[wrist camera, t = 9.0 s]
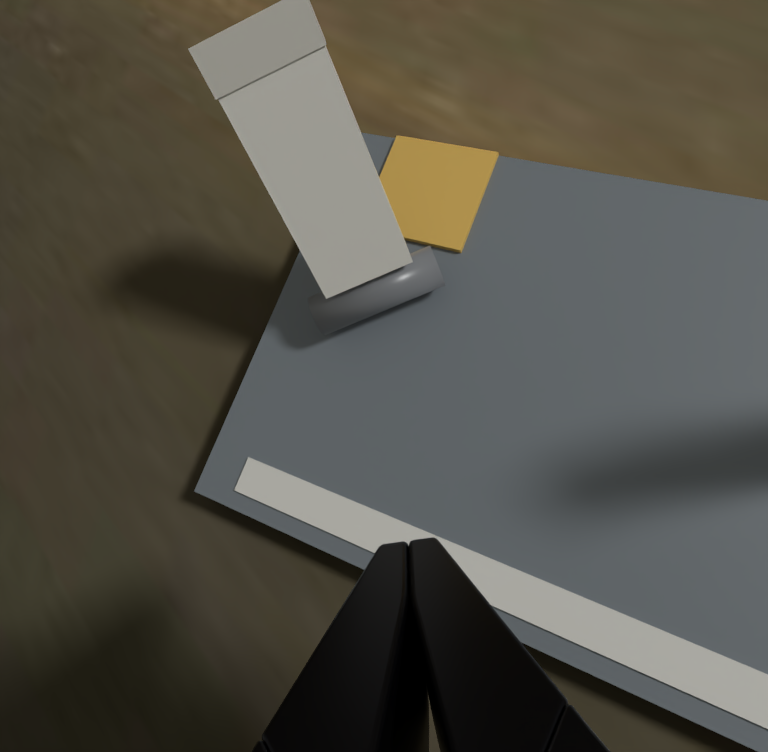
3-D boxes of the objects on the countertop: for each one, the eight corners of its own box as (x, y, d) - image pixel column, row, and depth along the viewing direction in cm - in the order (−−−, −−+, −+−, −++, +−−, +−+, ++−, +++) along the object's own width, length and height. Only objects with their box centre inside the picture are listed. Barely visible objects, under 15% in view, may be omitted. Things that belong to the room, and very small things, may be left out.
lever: (448, 293, 18) (329, -25, 13) (326, 343, 18) (164, 60, 13) (439, 273, 19) (327, -24, 14) (325, 321, 20) (177, 54, 14)
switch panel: (1110, 903, 12) (1180, 948, 11) (212, 493, 20) (190, 490, 19) (1185, 299, 15) (1250, 276, 13) (361, 150, 23) (350, 127, 21)
